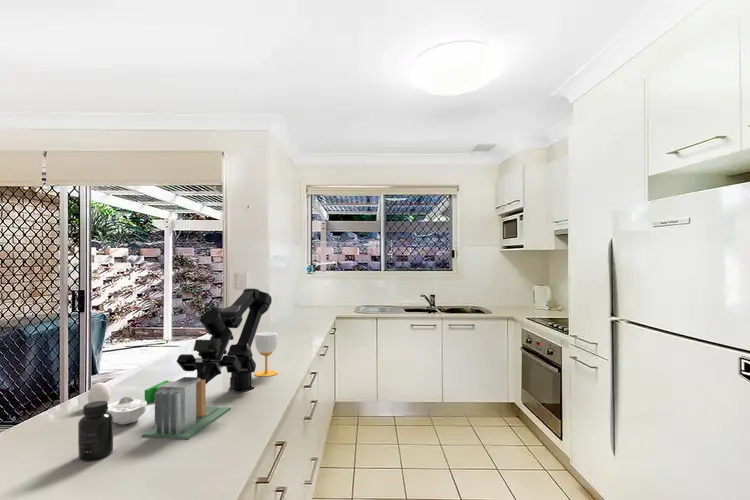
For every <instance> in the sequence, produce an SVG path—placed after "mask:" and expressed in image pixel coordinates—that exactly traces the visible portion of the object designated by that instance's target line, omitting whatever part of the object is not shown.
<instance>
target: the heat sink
mask: <svg viewBox="0 0 750 500" xmlns="http://www.w3.org/2000/svg"><path fill="white" fill-rule="evenodd" d="M168 381H169V380H168ZM198 382H200V378H198V377H197V376H196V377H194V376H192V377H191V376H183V377H182V378H178V379H177V380H174V381H172V380H171V381H169V382H167V383H164V384H162V385H160V386H158V390H157V393H155V401H154V427H155V434H158V433H159V432H161V431H162V434H165V433H167V432H169V435H172V434H173V433H175V432H176V435H179V434H181V433H182V432H186V431H188V430H189V429H191V428H192V427H194V426H195V425H196V424H197V423H198V422H200V421H201V420H203V419H204V418H206V417H207V416H209V415H210V414H212V413H213V412H215V411H216V410H218V407H219V406H215V407H216V408H215V409H213V410H212V411H210V412H209V413H207V414H206V415H204V416H202V417H201V418H199V419H198V420H196V383H198Z"/></svg>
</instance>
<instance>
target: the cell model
mask: <svg viewBox="0 0 750 500" xmlns="http://www.w3.org/2000/svg"><path fill="white" fill-rule="evenodd" d="M147 405H148V404H147V401H145V399H142V398H133V397H131V396H129V395H126V396H123V397H122V398H120V400H117V401H115V402H110V403H109V404H108V410H107V412H109V413H111V414H112V416H113V423H116V424H117V425H121V426H122V425H129V424H131V423H135V422H137V421H138V419H140V418H141V417H142V415H143V414H144V413H146V411H147Z"/></svg>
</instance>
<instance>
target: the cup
mask: <svg viewBox="0 0 750 500" xmlns="http://www.w3.org/2000/svg"><path fill="white" fill-rule="evenodd" d="M254 343H255V347H256V350H257V352H258V354H260V355H261V356H264V357H265V358H264V367H265V368H264V370H260V371H257V372H254V375H255V377H259V378H263V377H264V378H268V377H274V376H276V375H278V371H277V370H271V369H270V370H269V369H268V358H269V356H271V355H273V352H275V350H276V349H277V345H278V333H277V332H274V331H273V332H272V331H267V332H265V331H264V332H258V333H257V332H256V333H255V336H254Z"/></svg>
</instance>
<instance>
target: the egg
mask: <svg viewBox="0 0 750 500" xmlns="http://www.w3.org/2000/svg"><path fill="white" fill-rule="evenodd" d="M111 394H112V392H111V389H110V387H109V386H108V384H106V383H105V382H97V383H95V384H94V385H92V386H91V387H90V389H89V391H88V393H87V401H88V403H91V402H95V401H107V402H108V403H109V401H110V398H111Z"/></svg>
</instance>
